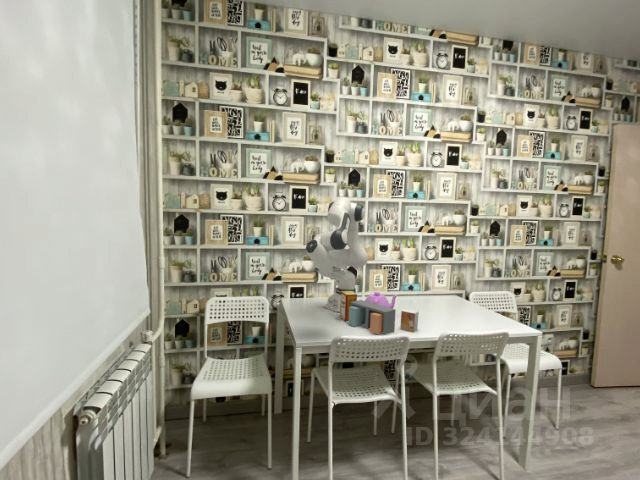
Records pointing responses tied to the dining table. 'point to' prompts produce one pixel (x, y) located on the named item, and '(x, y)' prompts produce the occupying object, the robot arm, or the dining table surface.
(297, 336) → the dining table surface
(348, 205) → the robot arm
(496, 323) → the dining table surface
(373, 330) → the orange rounded block
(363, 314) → the teal rectangular block
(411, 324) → the small box
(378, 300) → the teapot
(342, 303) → the baking soda box
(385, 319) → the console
